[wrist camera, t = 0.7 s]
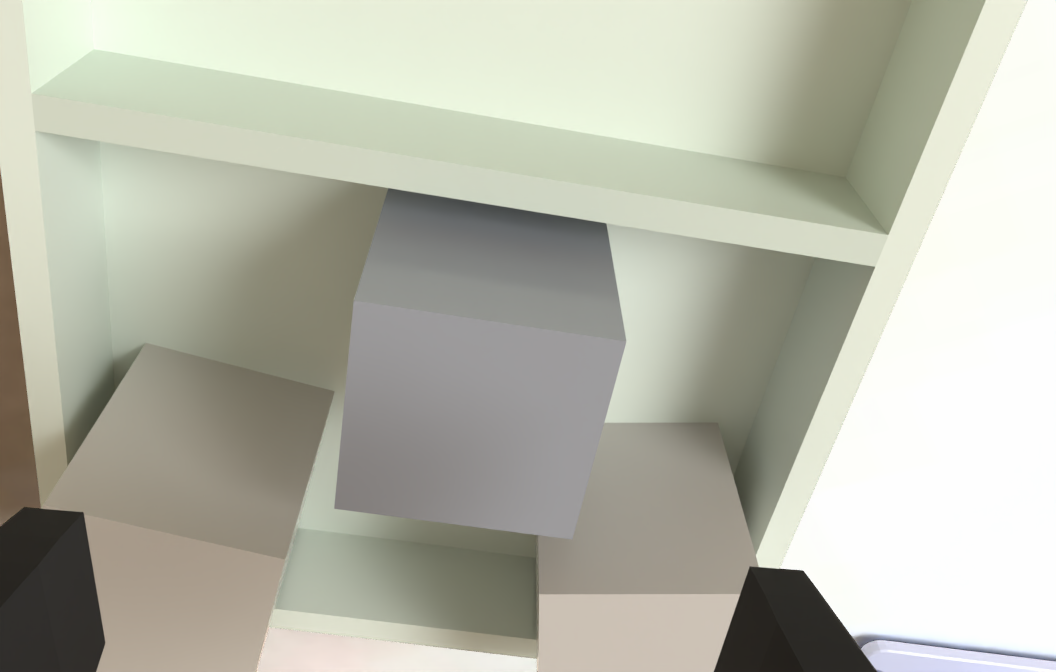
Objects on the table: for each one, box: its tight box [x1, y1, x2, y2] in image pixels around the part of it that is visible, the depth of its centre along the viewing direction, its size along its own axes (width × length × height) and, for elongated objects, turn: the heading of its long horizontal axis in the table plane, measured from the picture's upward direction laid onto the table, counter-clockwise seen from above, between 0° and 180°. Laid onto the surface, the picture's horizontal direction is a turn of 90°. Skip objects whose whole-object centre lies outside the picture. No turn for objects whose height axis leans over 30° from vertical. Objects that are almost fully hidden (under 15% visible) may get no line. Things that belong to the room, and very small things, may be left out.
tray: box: [0, 0, 1028, 659], centre depth 17 cm, size 22×15×3 cm
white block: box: [43, 343, 335, 672], centre depth 19 cm, size 4×4×5 cm
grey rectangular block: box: [334, 188, 626, 540], centre depth 17 cm, size 4×4×5 cm
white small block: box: [535, 423, 759, 672], centre depth 20 cm, size 4×4×5 cm
